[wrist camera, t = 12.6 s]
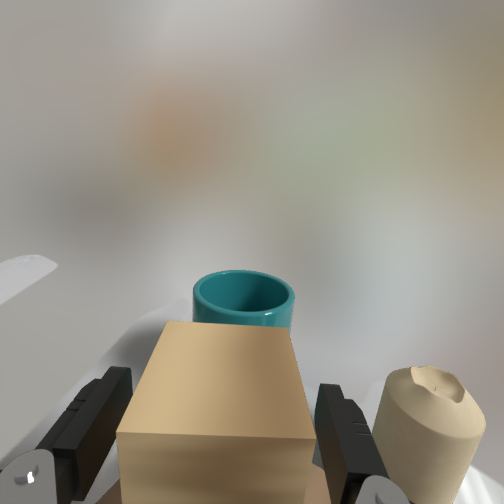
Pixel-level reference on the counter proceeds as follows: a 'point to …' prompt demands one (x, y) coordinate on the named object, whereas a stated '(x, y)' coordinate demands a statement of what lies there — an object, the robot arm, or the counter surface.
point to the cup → (243, 299)
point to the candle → (427, 433)
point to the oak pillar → (217, 420)
